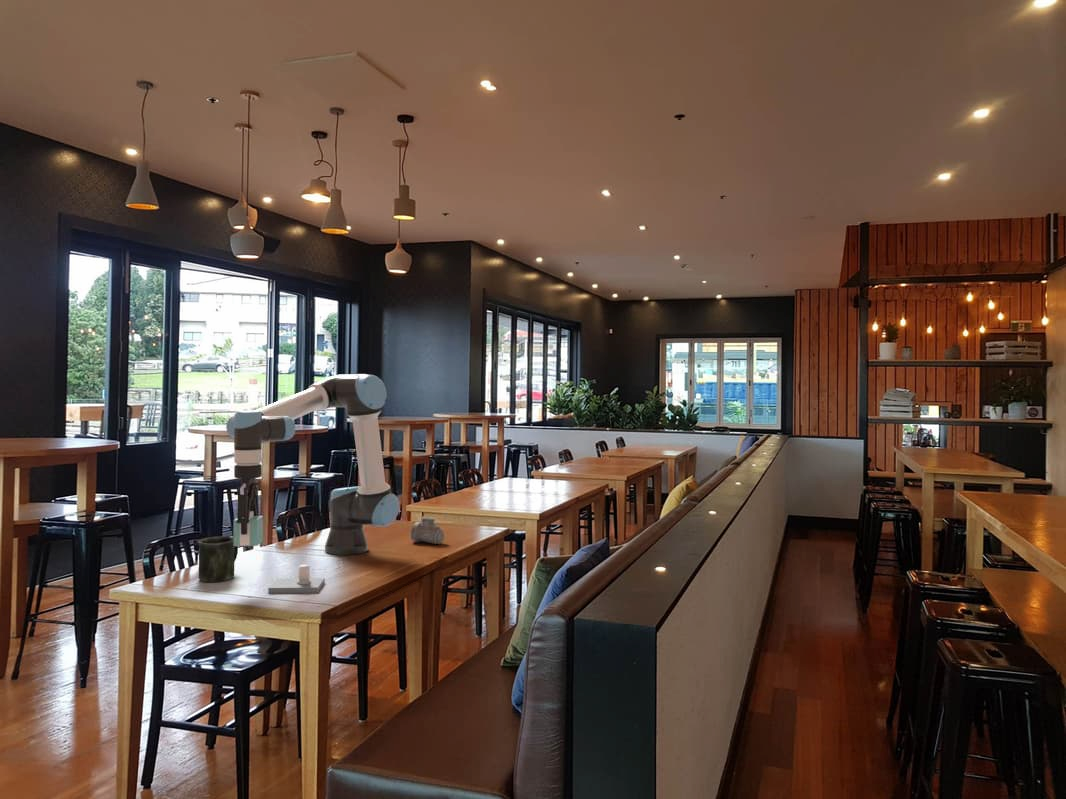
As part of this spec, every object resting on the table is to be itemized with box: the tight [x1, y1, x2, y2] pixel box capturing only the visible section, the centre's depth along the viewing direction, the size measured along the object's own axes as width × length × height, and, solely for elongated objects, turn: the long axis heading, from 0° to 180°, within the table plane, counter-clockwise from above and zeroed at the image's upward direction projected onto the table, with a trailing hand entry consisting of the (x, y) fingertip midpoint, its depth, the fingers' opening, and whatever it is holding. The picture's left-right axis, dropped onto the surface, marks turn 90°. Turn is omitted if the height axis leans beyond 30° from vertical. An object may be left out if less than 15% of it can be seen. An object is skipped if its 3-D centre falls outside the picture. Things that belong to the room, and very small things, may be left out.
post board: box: [267, 564, 326, 594], centre depth 228 cm, size 11×14×6 cm
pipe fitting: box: [410, 516, 445, 545], centre depth 295 cm, size 12×8×10 cm, turn 62°
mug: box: [197, 536, 239, 583], centre depth 238 cm, size 11×15×12 cm
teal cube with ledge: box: [232, 511, 264, 547], centre depth 225 cm, size 7×7×9 cm
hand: (248, 542), depth 225 cm, fingers closed on teal cube with ledge, 7 cm apart
